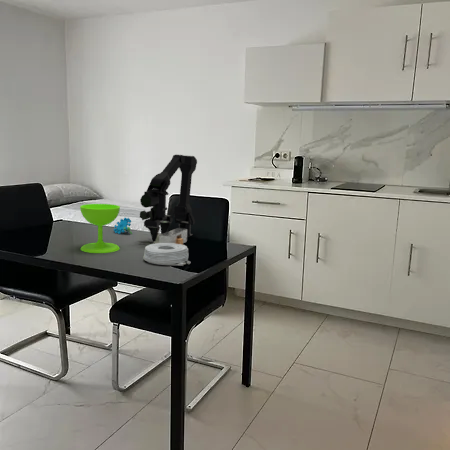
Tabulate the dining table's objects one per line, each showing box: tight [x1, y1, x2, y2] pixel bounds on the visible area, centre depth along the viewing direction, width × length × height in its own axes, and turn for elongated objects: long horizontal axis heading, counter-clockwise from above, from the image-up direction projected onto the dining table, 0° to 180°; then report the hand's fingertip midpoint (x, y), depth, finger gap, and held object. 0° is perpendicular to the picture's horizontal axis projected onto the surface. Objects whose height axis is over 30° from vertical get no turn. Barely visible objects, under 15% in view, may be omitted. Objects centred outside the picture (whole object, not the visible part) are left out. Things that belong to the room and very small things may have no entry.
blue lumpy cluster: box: [113, 217, 133, 235], centre depth 226 cm, size 11×6×10 cm
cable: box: [142, 243, 191, 267], centre depth 176 cm, size 18×18×6 cm
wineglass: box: [79, 203, 121, 254], centre depth 189 cm, size 16×16×18 cm
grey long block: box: [159, 227, 188, 244], centre depth 203 cm, size 20×5×6 cm, turn 163°
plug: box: [153, 233, 184, 245], centre depth 205 cm, size 4×13×4 cm, turn 70°
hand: (158, 239), depth 206 cm, fingers open, 9 cm apart
